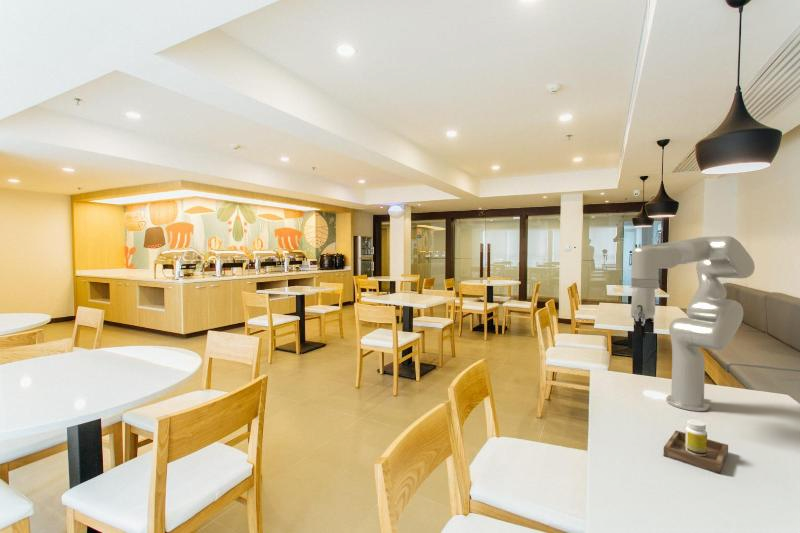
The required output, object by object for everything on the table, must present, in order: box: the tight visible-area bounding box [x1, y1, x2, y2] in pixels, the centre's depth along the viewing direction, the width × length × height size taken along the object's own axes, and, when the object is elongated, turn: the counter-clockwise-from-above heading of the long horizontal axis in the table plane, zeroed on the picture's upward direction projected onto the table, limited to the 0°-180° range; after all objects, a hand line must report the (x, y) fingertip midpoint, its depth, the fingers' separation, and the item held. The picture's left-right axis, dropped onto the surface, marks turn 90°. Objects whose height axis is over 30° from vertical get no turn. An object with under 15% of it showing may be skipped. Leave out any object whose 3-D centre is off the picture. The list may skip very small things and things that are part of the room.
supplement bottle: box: [684, 419, 708, 456], centre depth 105 cm, size 5×5×8 cm
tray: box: [663, 430, 729, 475], centre depth 105 cm, size 14×12×2 cm
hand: (643, 334), depth 127 cm, fingers open, 9 cm apart
